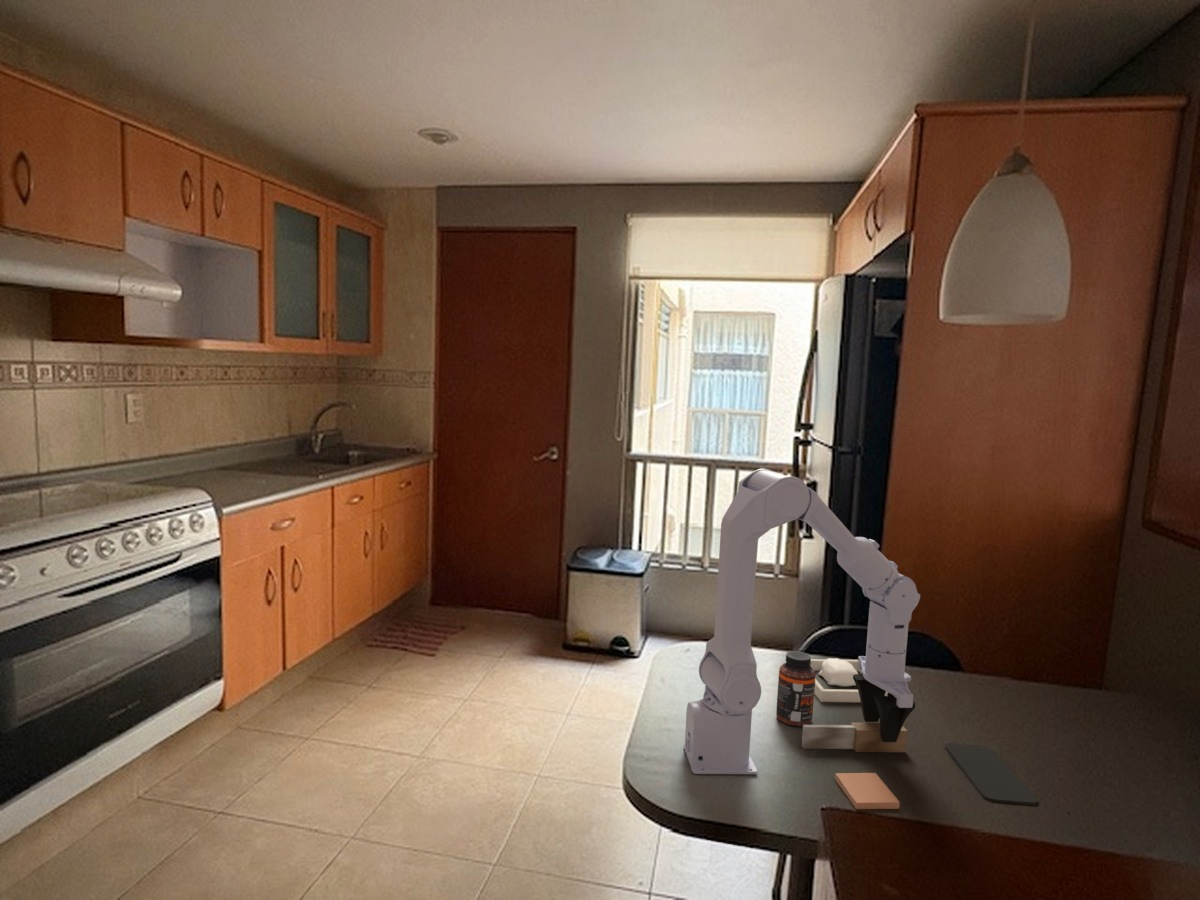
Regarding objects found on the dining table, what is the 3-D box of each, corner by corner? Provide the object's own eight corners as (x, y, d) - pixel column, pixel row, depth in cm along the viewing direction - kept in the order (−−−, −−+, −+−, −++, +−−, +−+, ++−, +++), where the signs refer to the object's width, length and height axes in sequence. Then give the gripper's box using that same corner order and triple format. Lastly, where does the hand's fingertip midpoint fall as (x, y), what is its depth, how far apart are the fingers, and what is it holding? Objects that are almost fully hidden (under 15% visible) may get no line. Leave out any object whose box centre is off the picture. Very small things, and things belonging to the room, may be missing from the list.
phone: (985, 798, 96) (942, 742, 111) (984, 804, 96) (942, 747, 111) (1041, 803, 95) (991, 746, 110) (1041, 809, 95) (990, 751, 110)
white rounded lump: (813, 671, 139) (815, 653, 138) (847, 672, 139) (848, 653, 139) (828, 689, 131) (829, 669, 131) (863, 689, 131) (865, 670, 131)
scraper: (805, 751, 107) (806, 729, 107) (799, 743, 110) (801, 721, 110) (905, 752, 108) (907, 730, 108) (898, 744, 111) (899, 723, 110)
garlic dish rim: (821, 701, 125) (821, 691, 125) (794, 668, 139) (794, 658, 139) (894, 702, 126) (895, 692, 125) (860, 669, 140) (861, 659, 140)
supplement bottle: (804, 732, 114) (809, 665, 112) (770, 720, 117) (774, 655, 116) (817, 718, 118) (821, 654, 117) (784, 708, 122) (788, 645, 121)
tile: (834, 782, 100) (855, 812, 93) (835, 773, 100) (856, 802, 93) (874, 781, 101) (898, 811, 94) (875, 772, 100) (899, 802, 94)
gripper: (936, 666, 101) (928, 755, 102) (889, 630, 115) (883, 709, 117) (888, 665, 100) (881, 755, 102) (847, 630, 115) (842, 708, 116)
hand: (879, 730), depth 109 cm, fingers open, 6 cm apart
